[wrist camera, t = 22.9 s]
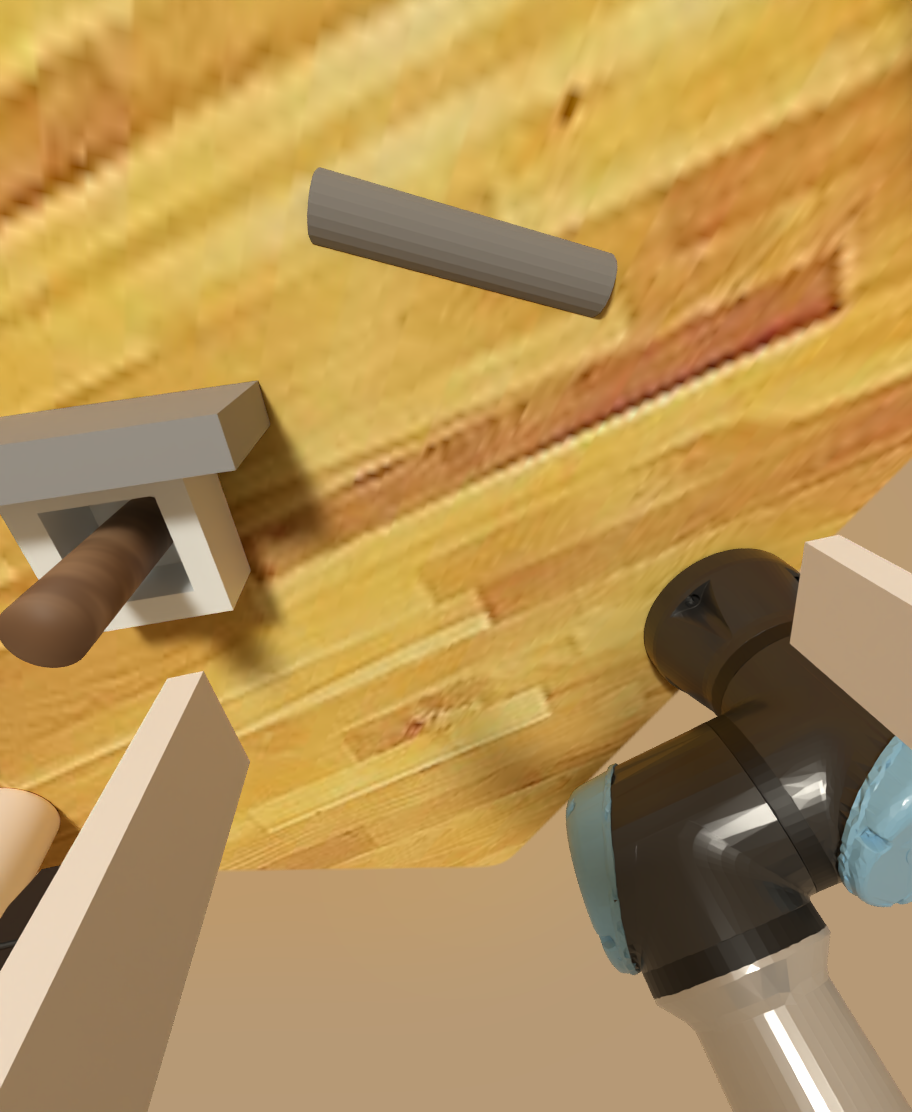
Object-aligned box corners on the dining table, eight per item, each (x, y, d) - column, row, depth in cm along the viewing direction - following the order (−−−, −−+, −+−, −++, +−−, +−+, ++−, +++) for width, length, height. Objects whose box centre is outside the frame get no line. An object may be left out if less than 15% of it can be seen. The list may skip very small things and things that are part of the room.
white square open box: (251, 568, 42) (233, 610, 37) (111, 591, 41) (71, 637, 36) (204, 433, 37) (175, 459, 31) (42, 457, 36) (-15, 487, 31)
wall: (270, 424, 37) (235, 470, 28) (-26, 468, 36) (-160, 529, 27) (257, 380, 35) (217, 413, 26) (-52, 424, 34) (-202, 474, 25)
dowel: (188, 542, 39) (103, 660, 27) (133, 550, 39) (22, 673, 27) (169, 492, 37) (67, 594, 25) (111, 500, 37) (-21, 608, 25)
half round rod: (593, 320, 37) (602, 322, 35) (307, 245, 33) (304, 243, 31) (614, 252, 35) (625, 251, 33) (315, 164, 31) (311, 157, 29)
